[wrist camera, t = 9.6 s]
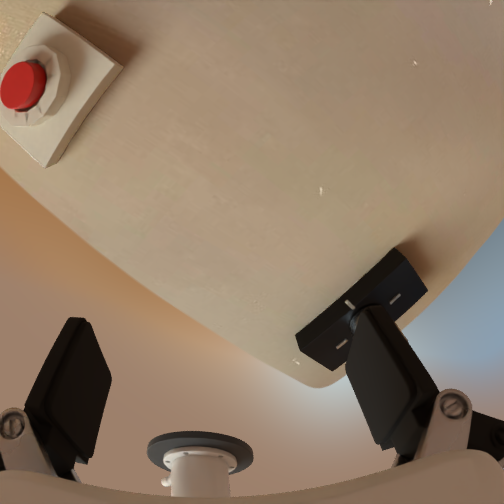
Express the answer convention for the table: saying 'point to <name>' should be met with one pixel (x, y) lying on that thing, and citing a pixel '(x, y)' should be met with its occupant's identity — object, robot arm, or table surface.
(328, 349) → the panel
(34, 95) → the power button
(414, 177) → the table surface
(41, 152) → the switch box
